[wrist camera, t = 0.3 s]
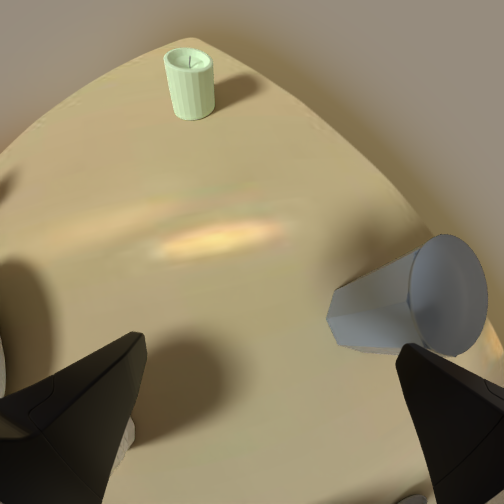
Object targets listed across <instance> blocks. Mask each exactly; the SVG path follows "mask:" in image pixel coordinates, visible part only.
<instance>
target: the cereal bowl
mask: <svg viewBox="0 0 504 504" xmlns="http://www.w3.org/2000/svg"><path fill="white" fill-rule="evenodd" d="M5 384H6V369H5V357H4V352H3V346H2V341H1V337H0V398H2V397H4V393H5V387H6V386H5Z"/></svg>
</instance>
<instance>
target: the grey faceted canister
mask: <svg viewBox="0 0 504 504" xmlns="http://www.w3.org/2000/svg"><path fill="white" fill-rule="evenodd" d="M487 308H488V292H487V284H486V279H485V275H484V272H483V269H482V266H481V264H480V262H479V260H478V258H477V256H476V255H475V253H474V252H473V250H472V249H471V248H470V247H469V246H468V245H467V244H466V243H465V242H464V241H462V240H461V239H459V238H457V237H455V236H453V235H448V234H444V235H442V234H440V235H438V236H436V237H434V238H432V239H430V240H428V241H427V242H426V243H424V244H423V245H421V246H419V247H417V248H415V249H414V250H412V251H410V252H408V253H406V254H404V255H402V256H400V257H399V258H397V259H395V260H393V261H391V262H389V263H387V264H385V265H383V266H381V267H379V268H377V269H375V270H373V271H371V272H369V273H367V274H365V275H363V276H361V277H359V278H357V279H355V280H354V281H352V282H350V283H348V284H346V285H344V286H342V287H341V288H339V289H337V290H335V291H334V294H333V298H332V301H331V304H330V307H329V311H328V314H327V317H326V320H327V322H328V324H329V326H330V328H331V331H332V333H333V335H334V337H335V339H336V342H337V344H338V345H340V346H344V347H347V348H350V349H353V350H357V351H360V352H365V353H376V354H388V355H399V353H400V351H401V348H402V346H403V345H404V344H406V343H415V344H417V345H419V346H421V347H423V348H425V349H427V350H429V351H431V352H433V353H435V354H437V355H439V356H441V357H456V356H457V355H459V354H462V353H464V352H465V351H467V350H468V349H469V348H470V347H471V346H472V345H473V344H474V343H475V342H476V340H477V339H478V337H479V336H480V334H481V331H482V329H483V326H484V323H485V320H486V315H487Z"/></svg>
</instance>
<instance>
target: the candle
mask: <svg viewBox="0 0 504 504" xmlns="http://www.w3.org/2000/svg"><path fill="white" fill-rule="evenodd" d="M164 64H165V69H166V74H167V79H168V84H169V89H170V94H171V99H172V104H173V109H174V112H175V114H176V115H177V117H179V118H181V119H184V120H197V119H201V118H204V117H206V116H208V115H209V114H210V113H211V112H212V111H213V110H214V107H215V99H214V74H213V60H212V58H211V57H210V56H209V55H208V54H206V53H205V52H203V51H200V50H198V49H193V48H176V49H173V50H170V51H169V52H167V53H166V54H165V56H164Z"/></svg>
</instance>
